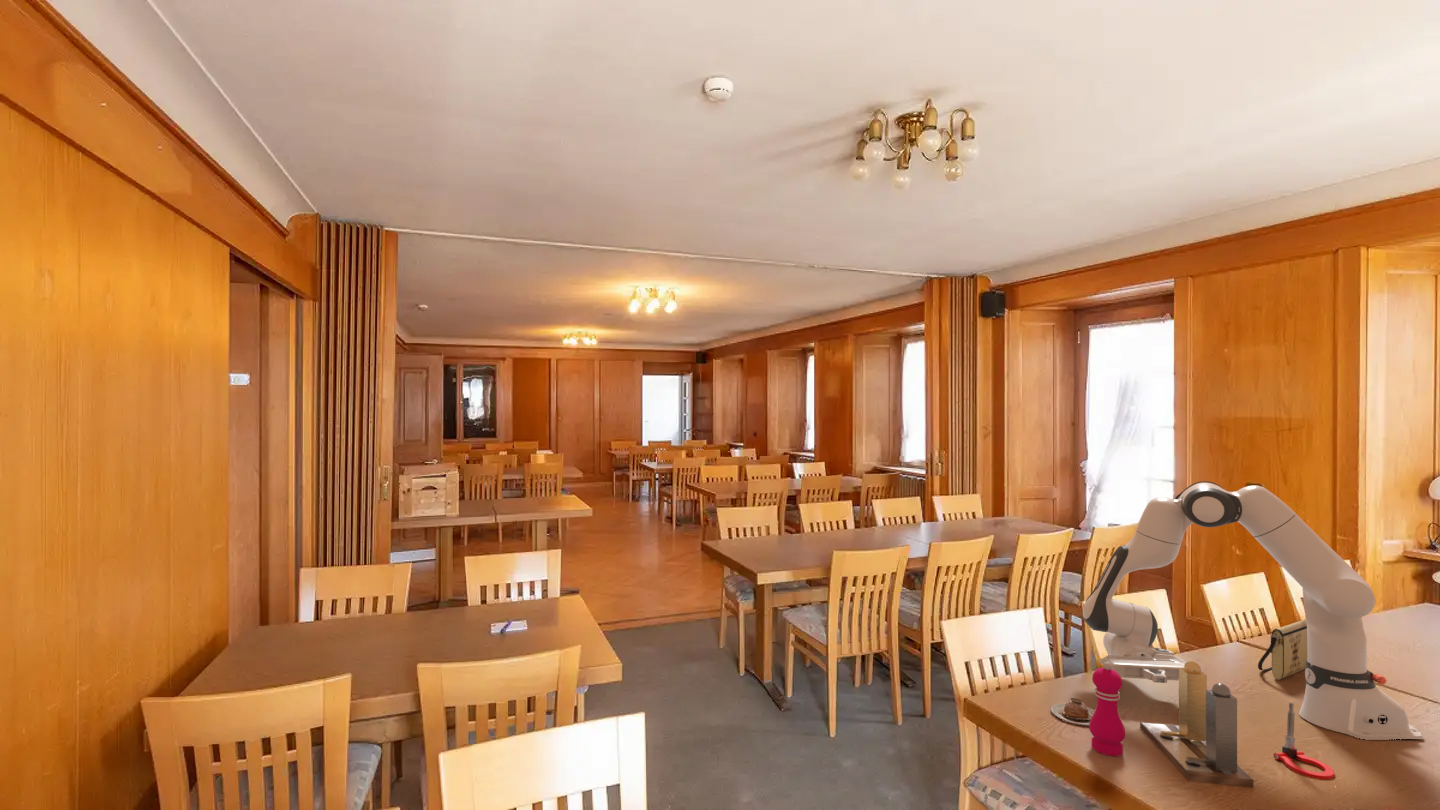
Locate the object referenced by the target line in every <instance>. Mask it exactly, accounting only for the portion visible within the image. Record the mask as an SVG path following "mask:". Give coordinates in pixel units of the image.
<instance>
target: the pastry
mask: <svg viewBox="0 0 1440 810" xmlns="http://www.w3.org/2000/svg"><path fill="white" fill-rule="evenodd" d="M1061 708H1064V710H1062V711H1061V712H1062V714H1063V715H1064V717H1063V716H1062V715H1061V713H1060V714H1059V713H1058V712H1059V710H1060V709H1061ZM1095 710H1096V709H1093V708H1091V707H1088V706H1086V704H1085V703H1083V700H1081V699H1080V698H1076V697H1071V698H1070V701H1067V702H1063V703H1062V702H1061V703H1057V704H1054V705H1052V706H1051V707H1050V711H1051V712H1052V714H1053V715H1054V716H1055V717H1056V716H1057V718H1058V719H1060V720H1061V719H1063V720H1064V721H1063V720H1062V721H1063V722H1065V721H1067V722H1066V723H1068V722H1070V723H1069V724H1072V723H1075V724H1074V725H1076V724H1078V725H1077V726H1089V725H1090V722H1084V721H1085V720H1088V721H1090V720H1091V718H1092V716H1091V715H1090V714H1092V715H1093V714H1094V712H1095ZM1064 712H1065V713H1064ZM1089 713H1090V714H1089ZM1065 715H1066V716H1065ZM1067 716H1068V718H1067ZM1065 717H1066V718H1065ZM1069 718H1071V719H1069ZM1074 719H1077V720H1076V721H1074ZM1083 720H1084V721H1083ZM1077 721H1083V722H1077Z"/></svg>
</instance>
